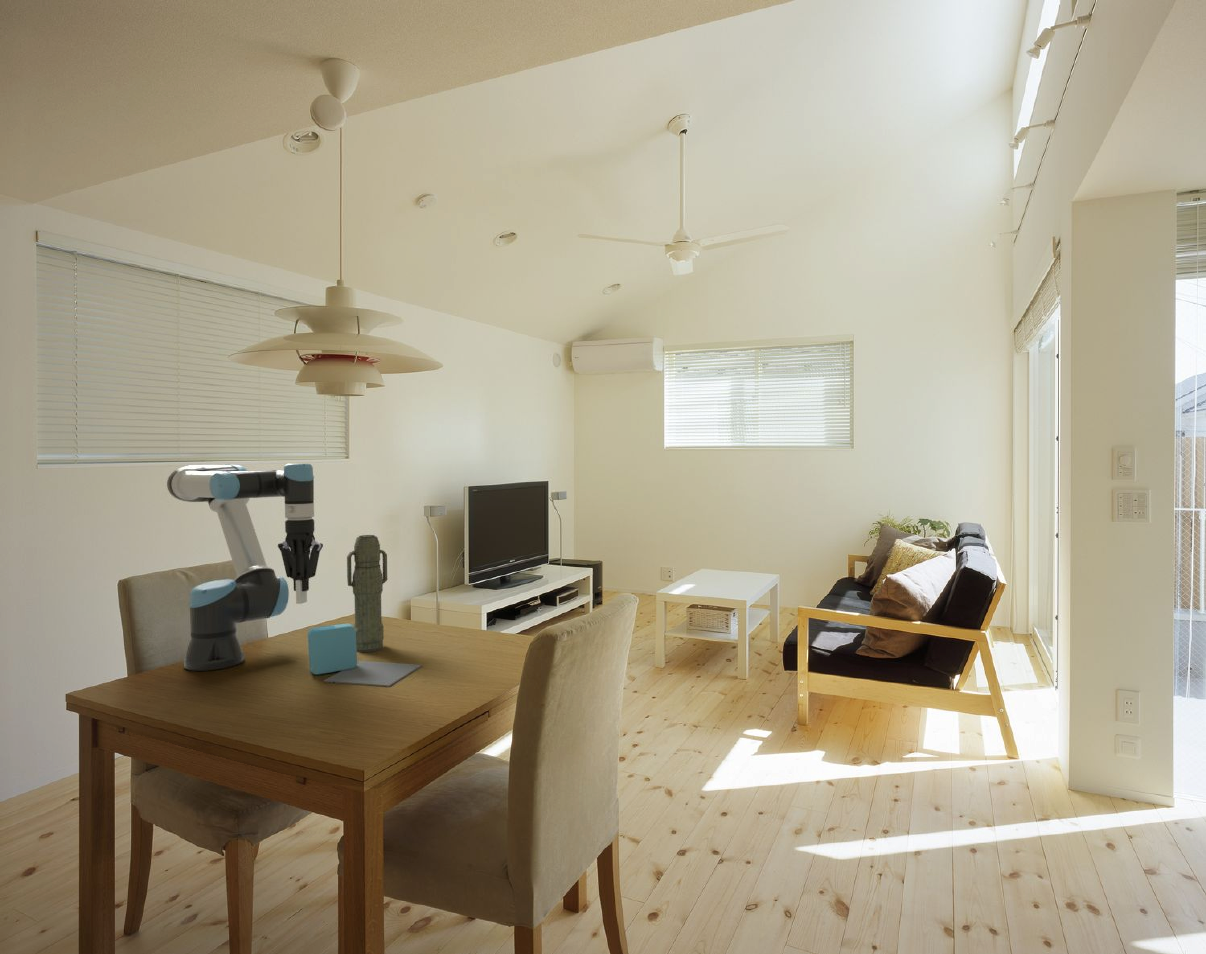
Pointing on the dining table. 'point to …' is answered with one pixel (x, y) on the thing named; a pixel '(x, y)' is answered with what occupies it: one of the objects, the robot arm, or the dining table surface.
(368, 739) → the dining table surface
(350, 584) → the thermos
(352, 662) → the blue flat block
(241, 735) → the dining table surface
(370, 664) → the mat
